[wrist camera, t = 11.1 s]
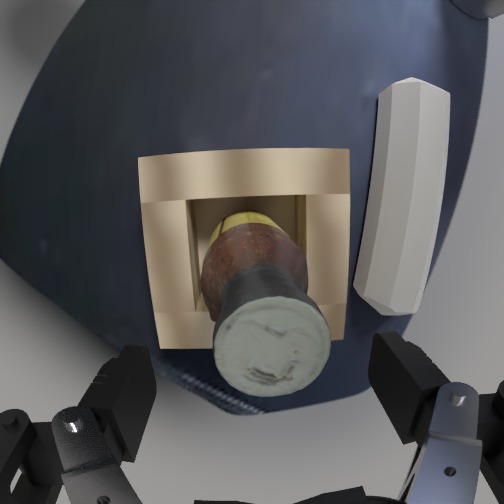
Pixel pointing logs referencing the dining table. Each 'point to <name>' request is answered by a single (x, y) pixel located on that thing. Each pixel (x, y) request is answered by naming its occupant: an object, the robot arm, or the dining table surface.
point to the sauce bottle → (262, 308)
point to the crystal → (404, 196)
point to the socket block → (233, 200)
